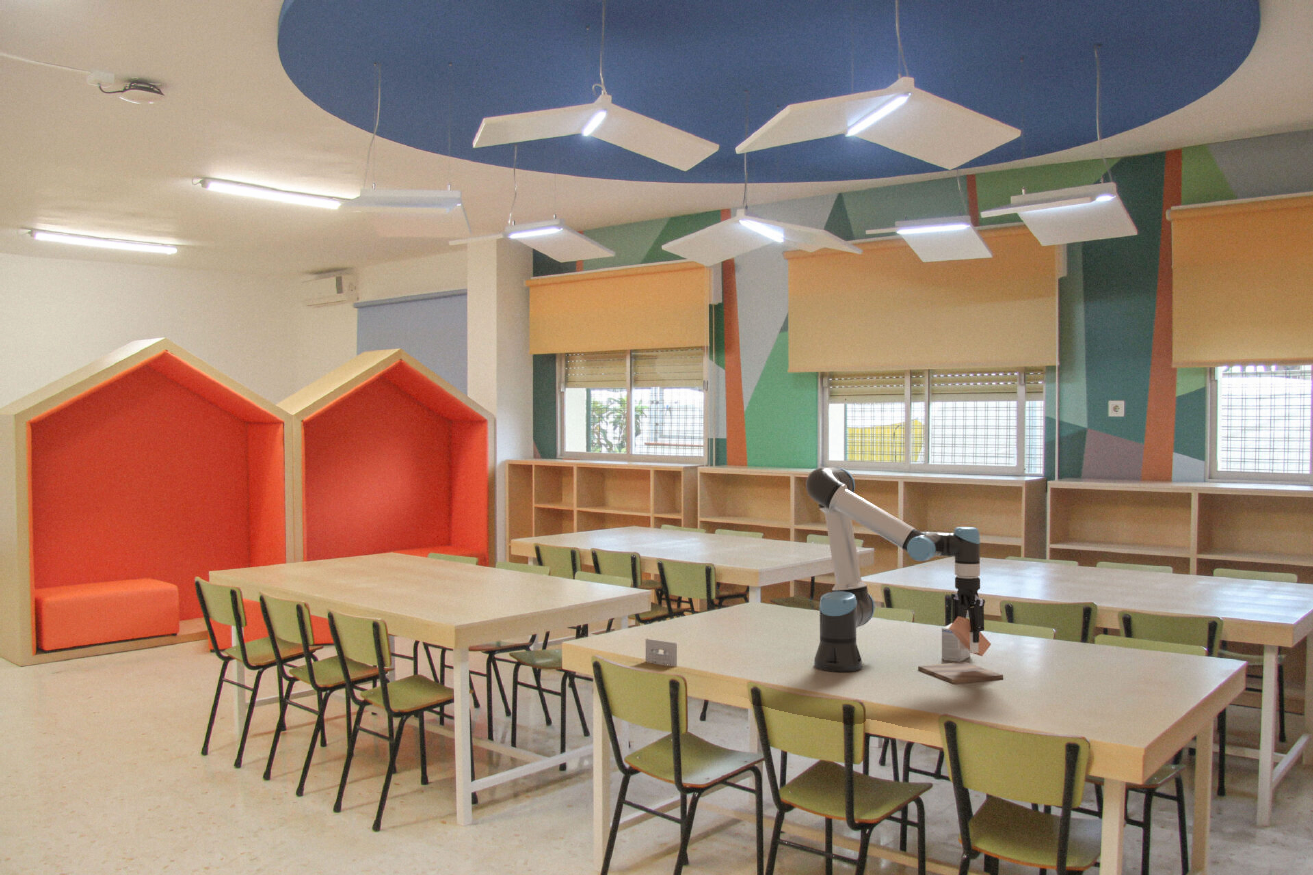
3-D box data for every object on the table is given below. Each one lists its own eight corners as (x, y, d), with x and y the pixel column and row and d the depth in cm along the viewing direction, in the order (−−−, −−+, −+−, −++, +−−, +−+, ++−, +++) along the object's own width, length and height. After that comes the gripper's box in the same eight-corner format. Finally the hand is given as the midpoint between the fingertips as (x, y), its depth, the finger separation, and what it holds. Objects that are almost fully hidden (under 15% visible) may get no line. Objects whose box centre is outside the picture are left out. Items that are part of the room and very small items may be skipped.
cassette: (644, 662, 302) (644, 639, 302) (647, 661, 303) (647, 638, 303) (674, 667, 295) (674, 643, 295) (677, 666, 296) (677, 642, 296)
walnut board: (918, 669, 291) (918, 666, 291) (965, 665, 297) (965, 661, 297) (953, 683, 274) (953, 679, 274) (1003, 678, 280) (1003, 674, 280)
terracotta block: (971, 652, 290) (948, 627, 287) (980, 641, 291) (958, 616, 288) (982, 656, 285) (959, 630, 283) (991, 644, 286) (968, 618, 284)
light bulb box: (951, 653, 314) (951, 622, 314) (971, 656, 310) (971, 624, 310) (941, 659, 305) (941, 627, 305) (961, 662, 301) (961, 629, 302)
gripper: (996, 579, 280) (997, 655, 279) (959, 572, 297) (959, 644, 296) (976, 580, 277) (977, 657, 277) (939, 573, 294) (940, 645, 294)
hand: (968, 650), depth 287 cm, fingers closed on terracotta block, 5 cm apart
